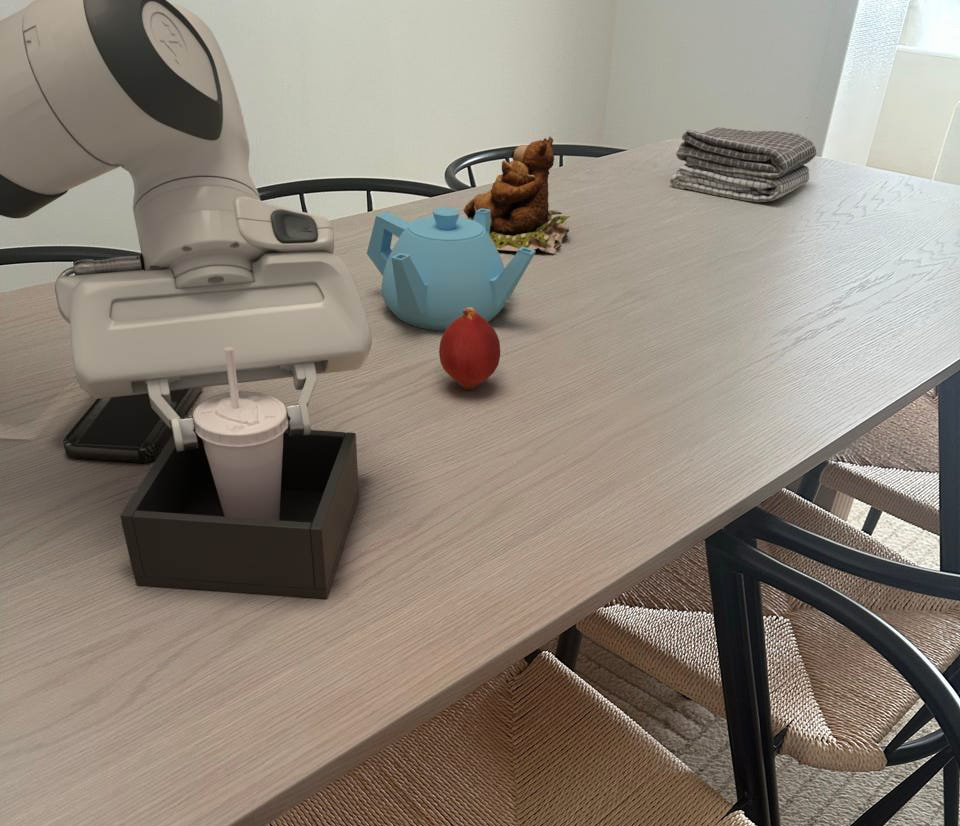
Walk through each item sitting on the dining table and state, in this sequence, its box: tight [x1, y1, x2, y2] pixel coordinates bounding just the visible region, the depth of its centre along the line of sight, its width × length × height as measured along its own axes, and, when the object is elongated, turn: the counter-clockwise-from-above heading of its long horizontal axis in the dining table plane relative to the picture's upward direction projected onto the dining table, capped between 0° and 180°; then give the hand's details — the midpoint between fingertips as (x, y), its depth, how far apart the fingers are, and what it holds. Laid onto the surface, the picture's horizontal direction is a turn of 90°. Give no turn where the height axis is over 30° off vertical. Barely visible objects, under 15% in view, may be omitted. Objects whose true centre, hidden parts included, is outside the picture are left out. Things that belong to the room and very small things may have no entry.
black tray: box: [119, 427, 360, 600], centre depth 73 cm, size 14×14×6 cm
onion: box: [438, 307, 501, 390], centre depth 93 cm, size 6×6×8 cm
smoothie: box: [192, 347, 288, 520], centre depth 69 cm, size 6×6×14 cm
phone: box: [62, 387, 203, 463], centre depth 88 cm, size 8×1×15 cm
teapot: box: [366, 206, 536, 332], centre depth 107 cm, size 15×15×11 cm
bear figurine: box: [462, 136, 571, 254], centre depth 127 cm, size 14×15×12 cm
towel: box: [669, 127, 818, 203], centre depth 151 cm, size 15×18×8 cm
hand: (245, 440), depth 69 cm, fingers closed on smoothie, 6 cm apart
